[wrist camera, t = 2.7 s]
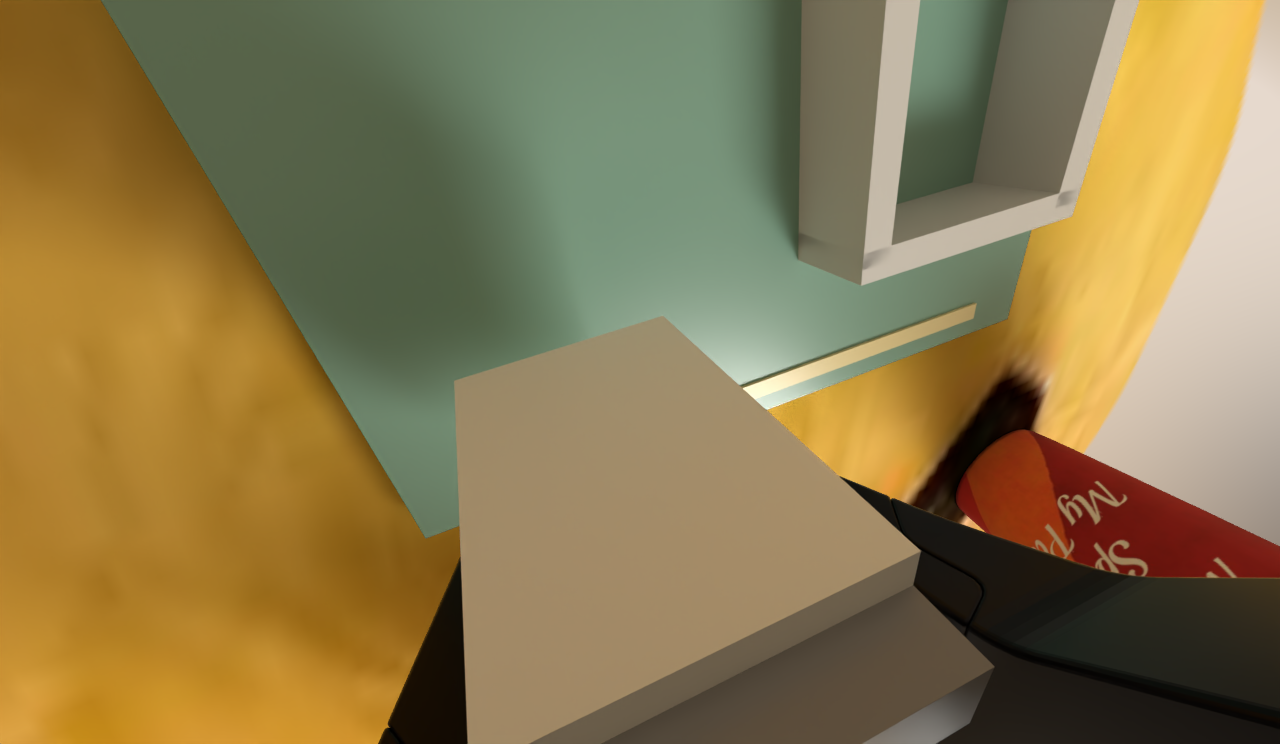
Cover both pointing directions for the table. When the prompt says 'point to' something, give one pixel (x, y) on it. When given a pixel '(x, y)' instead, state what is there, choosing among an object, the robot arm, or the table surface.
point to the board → (628, 179)
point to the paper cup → (1102, 515)
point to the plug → (681, 566)
